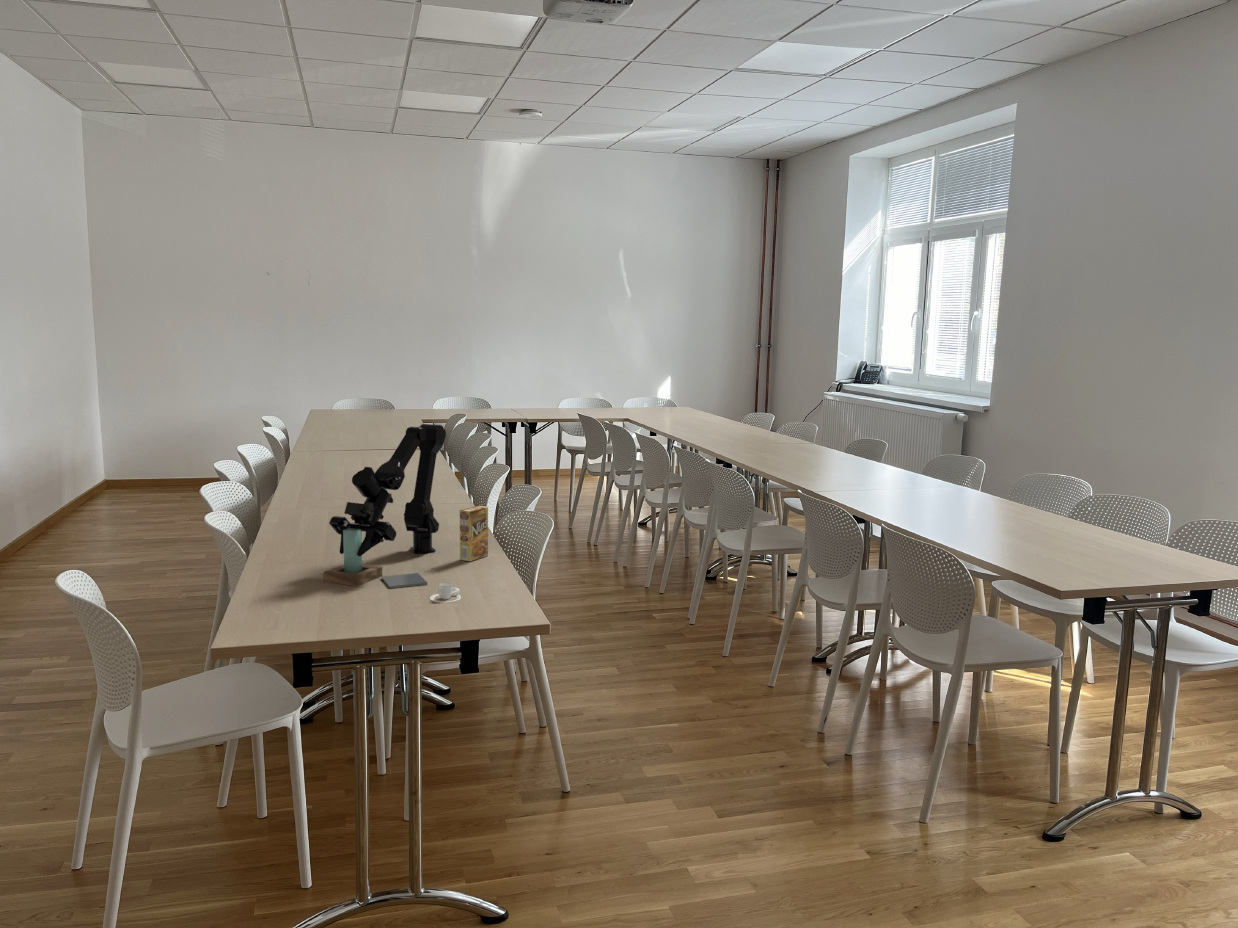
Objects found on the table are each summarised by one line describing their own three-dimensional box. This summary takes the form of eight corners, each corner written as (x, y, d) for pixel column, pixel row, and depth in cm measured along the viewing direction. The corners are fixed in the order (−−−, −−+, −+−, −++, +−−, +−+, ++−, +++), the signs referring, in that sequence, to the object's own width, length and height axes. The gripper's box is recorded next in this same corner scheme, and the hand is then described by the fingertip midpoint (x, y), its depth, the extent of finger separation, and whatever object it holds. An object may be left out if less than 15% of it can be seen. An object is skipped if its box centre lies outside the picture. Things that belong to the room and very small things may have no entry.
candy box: (470, 562, 256) (470, 511, 254) (458, 560, 258) (459, 509, 256) (488, 555, 264) (489, 506, 262) (477, 553, 266) (477, 504, 264)
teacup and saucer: (453, 592, 228) (453, 577, 227) (469, 599, 222) (470, 584, 222) (423, 598, 222) (423, 583, 222) (439, 606, 216) (439, 590, 216)
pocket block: (349, 571, 244) (349, 562, 243) (382, 575, 240) (382, 566, 239) (323, 581, 233) (323, 572, 233) (357, 586, 230) (357, 577, 229)
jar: (342, 577, 238) (341, 529, 236) (360, 575, 240) (359, 527, 238) (345, 581, 233) (344, 532, 231) (364, 579, 236) (363, 531, 234)
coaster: (381, 578, 237) (381, 576, 237) (418, 574, 242) (418, 572, 242) (389, 588, 228) (389, 586, 228) (427, 584, 233) (427, 582, 233)
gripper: (332, 487, 240) (306, 534, 231) (389, 493, 234) (365, 542, 225) (350, 510, 248) (326, 556, 240) (406, 516, 242) (383, 564, 233)
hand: (349, 554), depth 234 cm, fingers open, 5 cm apart
